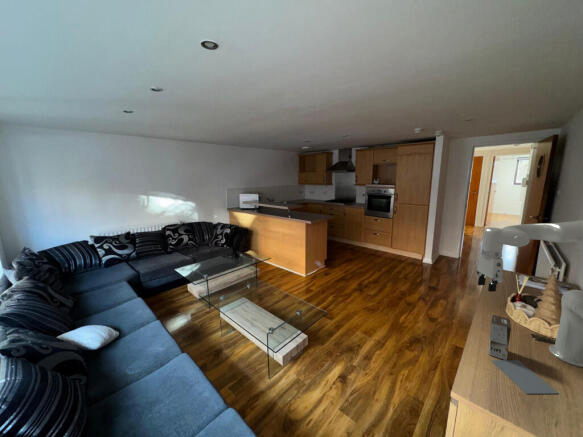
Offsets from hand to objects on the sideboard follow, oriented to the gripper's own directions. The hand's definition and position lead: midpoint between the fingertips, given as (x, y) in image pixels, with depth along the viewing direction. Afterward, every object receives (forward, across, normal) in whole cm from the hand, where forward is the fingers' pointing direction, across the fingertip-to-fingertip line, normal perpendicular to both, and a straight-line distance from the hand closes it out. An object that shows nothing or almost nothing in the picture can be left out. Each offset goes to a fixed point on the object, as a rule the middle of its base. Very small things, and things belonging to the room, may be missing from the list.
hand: (486, 287), depth 113 cm
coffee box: (+28, -10, 0) cm, 29 cm away
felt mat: (+28, -24, +1) cm, 36 cm away
